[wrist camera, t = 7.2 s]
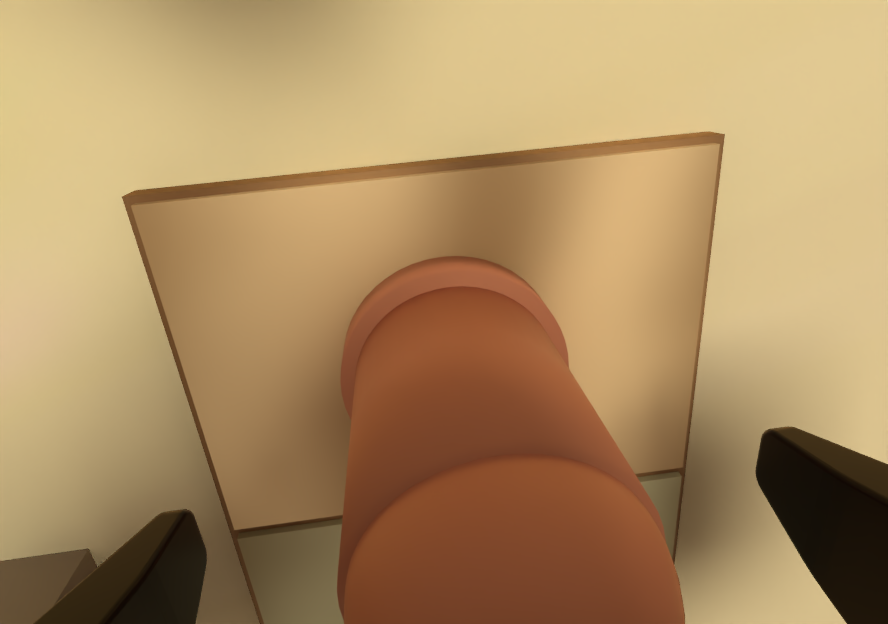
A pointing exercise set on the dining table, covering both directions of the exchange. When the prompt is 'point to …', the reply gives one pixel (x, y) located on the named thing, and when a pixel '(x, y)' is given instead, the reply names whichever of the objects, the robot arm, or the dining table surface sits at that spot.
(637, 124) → the dining table surface
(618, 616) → the pawn
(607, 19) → the dining table surface
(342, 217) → the board
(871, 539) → the robot arm
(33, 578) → the die
